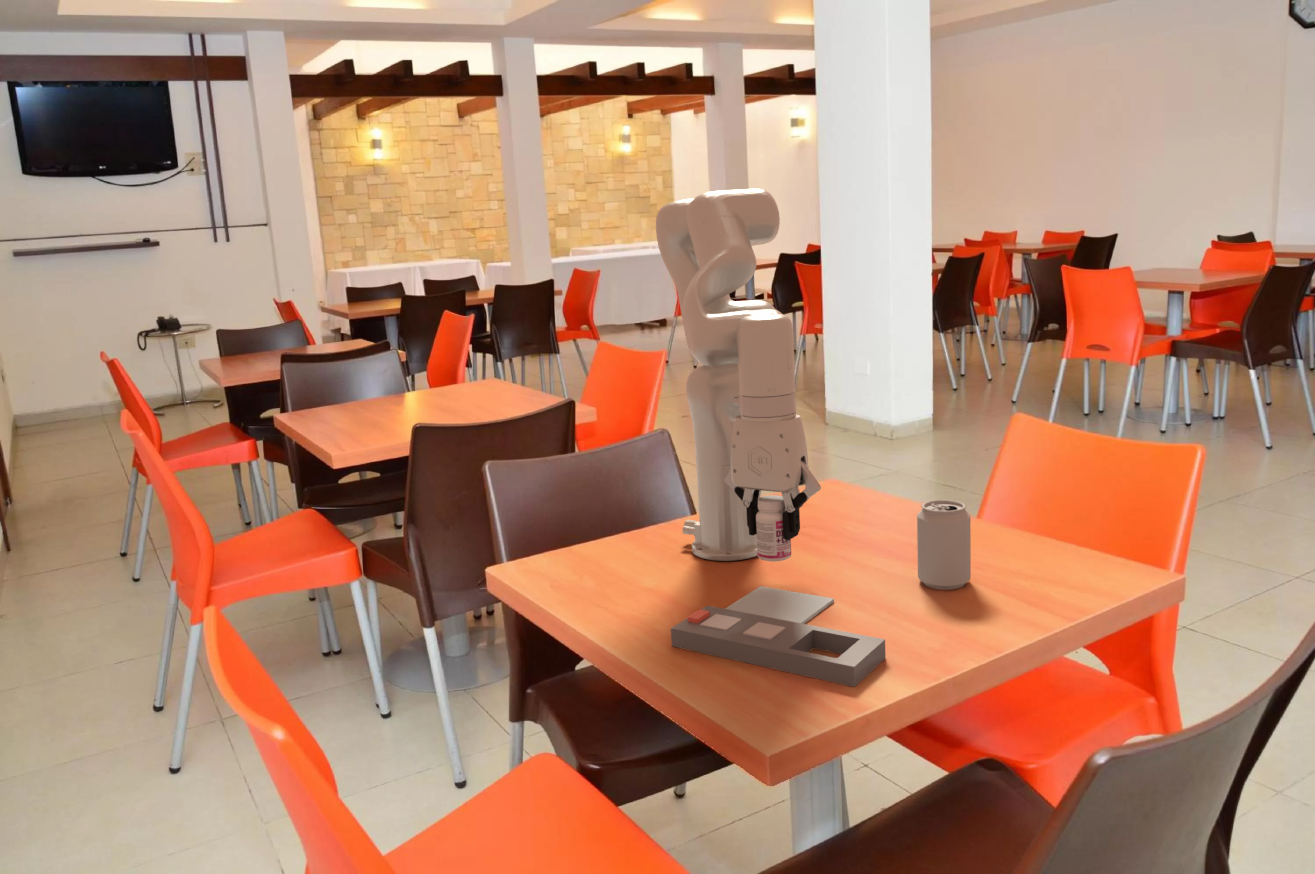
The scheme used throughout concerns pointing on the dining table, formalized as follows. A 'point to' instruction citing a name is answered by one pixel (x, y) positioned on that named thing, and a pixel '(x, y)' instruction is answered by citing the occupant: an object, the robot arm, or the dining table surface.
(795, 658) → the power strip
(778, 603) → the mat
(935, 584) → the can
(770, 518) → the pill bottle
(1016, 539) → the dining table surface
